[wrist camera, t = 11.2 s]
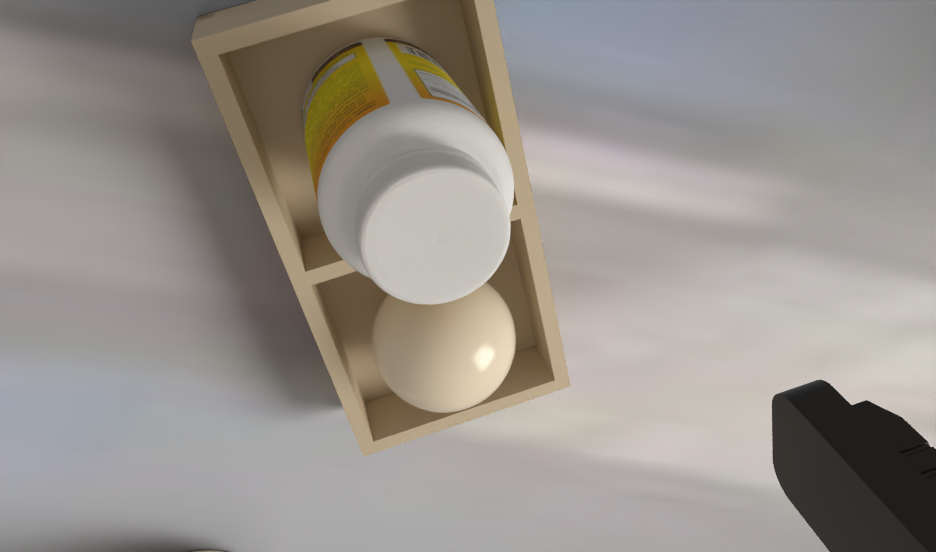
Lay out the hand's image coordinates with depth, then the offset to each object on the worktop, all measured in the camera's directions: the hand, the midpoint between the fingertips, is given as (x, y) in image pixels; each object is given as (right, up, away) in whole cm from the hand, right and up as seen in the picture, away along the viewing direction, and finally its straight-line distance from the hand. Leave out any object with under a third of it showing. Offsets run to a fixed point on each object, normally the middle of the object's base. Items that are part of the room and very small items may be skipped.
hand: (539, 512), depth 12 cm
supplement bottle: (-4, +10, +16) cm, 20 cm away
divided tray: (-4, +6, +19) cm, 20 cm away
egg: (-3, +3, +21) cm, 21 cm away
